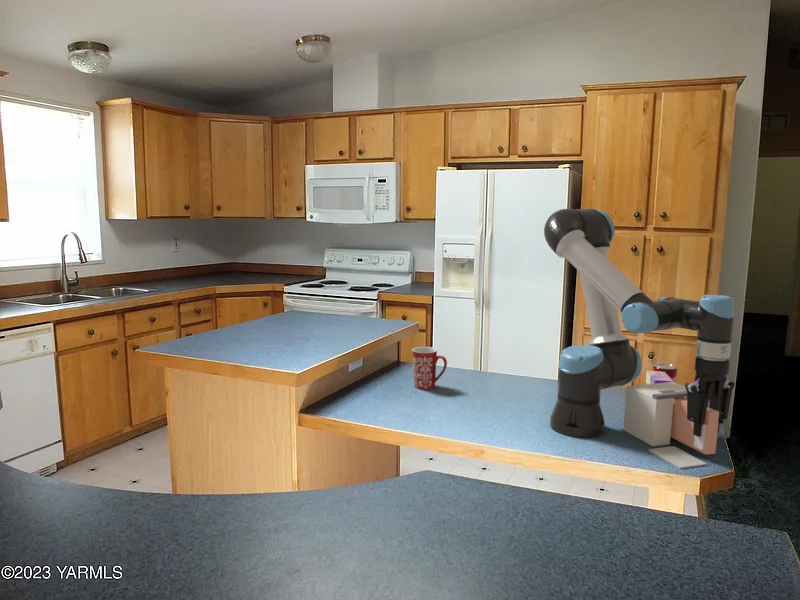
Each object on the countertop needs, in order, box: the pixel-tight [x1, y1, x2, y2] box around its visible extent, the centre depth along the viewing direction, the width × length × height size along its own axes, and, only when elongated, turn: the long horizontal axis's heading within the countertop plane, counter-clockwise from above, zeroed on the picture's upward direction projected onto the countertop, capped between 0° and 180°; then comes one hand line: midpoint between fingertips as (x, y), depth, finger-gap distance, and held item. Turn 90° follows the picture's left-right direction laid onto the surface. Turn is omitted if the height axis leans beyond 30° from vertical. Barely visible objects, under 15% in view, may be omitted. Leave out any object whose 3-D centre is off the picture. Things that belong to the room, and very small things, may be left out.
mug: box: [411, 346, 448, 390], centre depth 199 cm, size 13×9×14 cm
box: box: [645, 370, 674, 384], centre depth 177 cm, size 10×6×12 cm, turn 168°
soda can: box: [652, 362, 678, 383], centre depth 187 cm, size 7×7×12 cm
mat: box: [648, 445, 707, 470], centre depth 144 cm, size 8×11×1 cm
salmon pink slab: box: [670, 397, 719, 456], centre depth 148 cm, size 3×12×11 cm, turn 16°
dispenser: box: [623, 382, 704, 447], centre depth 158 cm, size 16×12×14 cm
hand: (704, 446), depth 145 cm, fingers closed on salmon pink slab, 3 cm apart
